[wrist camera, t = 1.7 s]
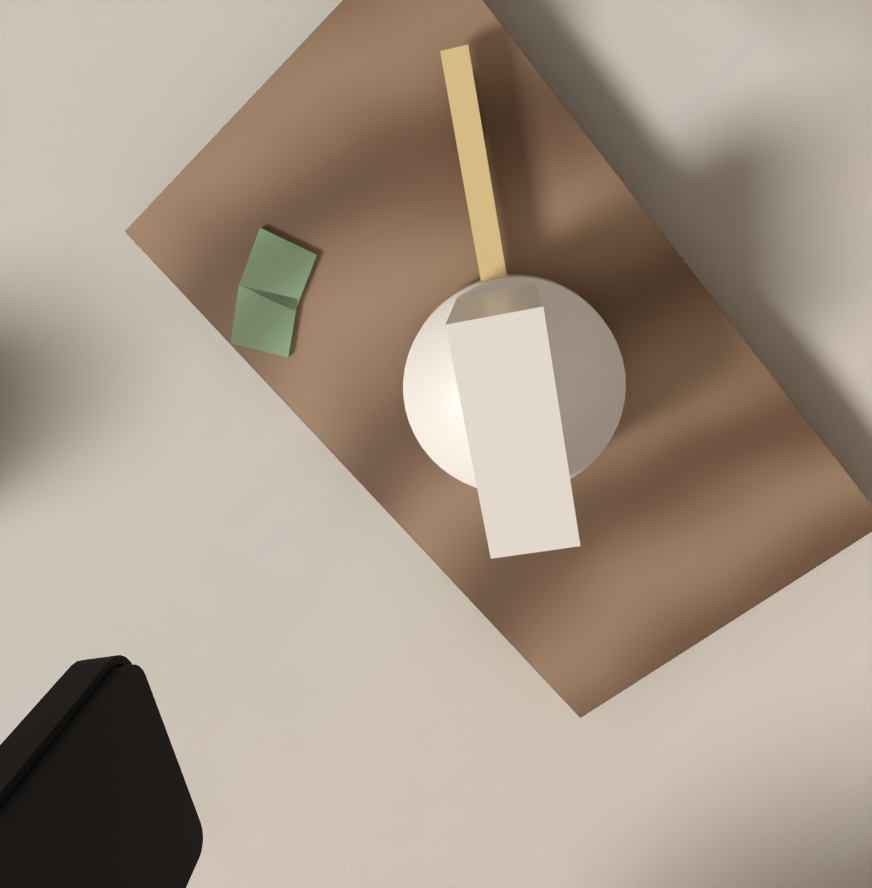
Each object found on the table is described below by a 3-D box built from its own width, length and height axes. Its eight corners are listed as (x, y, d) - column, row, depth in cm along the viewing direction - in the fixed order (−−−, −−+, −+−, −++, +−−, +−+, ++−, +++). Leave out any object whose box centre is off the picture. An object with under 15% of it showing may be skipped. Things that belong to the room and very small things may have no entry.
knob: (632, 463, 26) (670, 543, 20) (430, 495, 27) (409, 580, 21) (576, 25, 22) (603, -35, 16) (341, 80, 23) (285, 42, 17)
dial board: (865, 505, 28) (888, 524, 26) (576, 693, 31) (580, 721, 29) (425, -65, 23) (418, -84, 21) (145, 229, 27) (121, 231, 25)
